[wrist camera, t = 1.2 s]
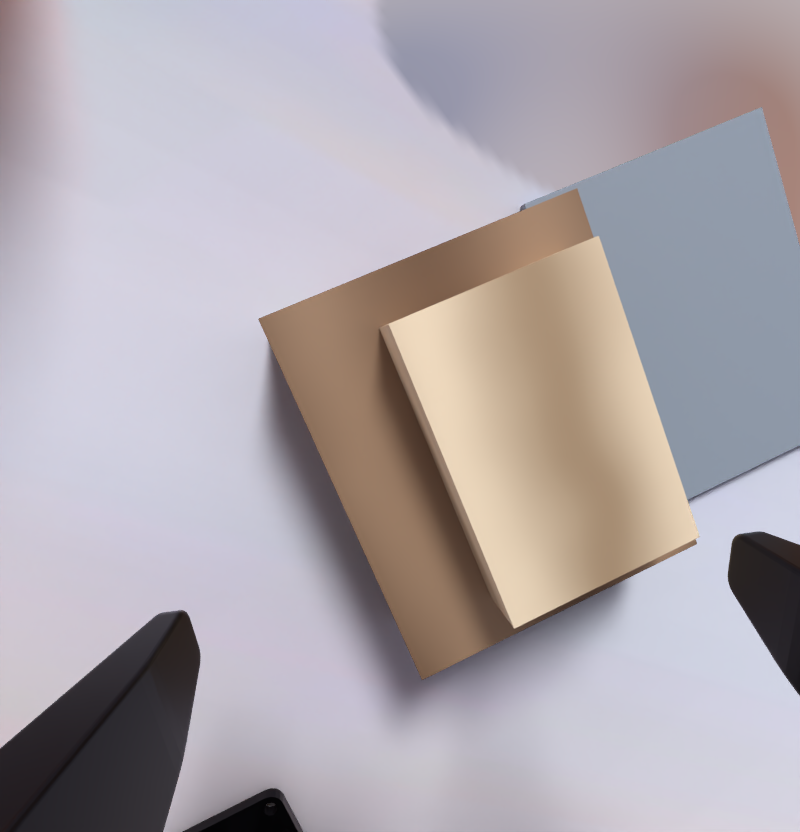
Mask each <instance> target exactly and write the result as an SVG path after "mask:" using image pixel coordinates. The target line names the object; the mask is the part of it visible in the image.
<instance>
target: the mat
mask: <svg viewBox="0 0 800 832" xmlns="http://www.w3.org/2000/svg"><path fill="white" fill-rule="evenodd" d="M576 188H577V189H578V192H579V195H580V198H581V201H582V204H583V207H584V210H585V213H586V216H587V219H588V222H589V225H590V228H591V231H592V234H593V237H597V236H599V238H600V241H601V244H602V247H603V250H604V253H605V256H606V259H607V262H608V265H609V268H610V271H611V274H612V277H613V280H614V283H615V286H616V289H617V292H618V295H619V298H620V301H621V303H622V306H623V309H624V312H625V315H626V318H627V321H628V324H629V327H630V330H631V333H632V336H633V339H634V342H635V345H636V348H637V351H638V354H639V357H640V360H641V363H642V366H643V369H644V372H645V375H646V378H647V381H648V384H649V387H650V390H651V393H652V396H653V399H654V402H655V405H656V408H657V411H658V414H659V417H660V420H661V423H662V426H663V429H664V432H665V435H666V438H667V441H668V444H669V447H670V450H671V453H672V456H673V459H674V462H675V465H676V468H677V471H678V474H679V477H680V480H681V483H682V486H683V489H684V492H685V495H686V498H687V500H688V499H690V498H692V497H694V496H696V495H698V494H700V493H703V492H705V491H707V490H709V489H711V488H713V487H715V486H717V485H719V484H721V483H723V482H725V481H727V480H729V479H731V478H733V477H735V476H738V475H740V474H742V473H744V472H746V471H748V470H750V469H752V468H754V467H756V466H758V465H760V464H762V463H764V462H766V461H768V460H770V459H773V458H775V457H777V456H779V455H781V454H783V453H785V452H787V451H789V450H791V449H793V448H795V447H797V446H799V445H800V245H799V242H798V238H797V234H796V231H795V227H794V223H793V220H792V216H791V213H790V209H789V205H788V202H787V198H786V194H785V191H784V187H783V183H782V180H781V176H780V172H779V168H778V165H777V161H776V157H775V154H774V150H773V147H772V143H771V140H770V136H769V132H768V129H767V125H766V121H765V117H764V114H763V110H762V107H761V108H759V109H756V110H753V111H751V112H749V113H746V114H744V115H741V116H739V117H736V118H734V119H732V120H729V121H727V122H724V123H722V124H719V125H717V126H714V127H712V128H709V129H707V130H705V131H702V132H700V133H697V134H695V135H692V136H690V137H687V138H685V139H683V140H680V141H678V142H676V143H673V144H670V145H668V146H666V147H663V148H661V149H658V150H656V151H653V152H651V153H648V154H646V155H644V156H641V157H639V158H636V159H634V160H631V161H629V162H626V163H624V164H621V165H619V166H617V167H614V168H612V169H610V170H607V171H604V172H602V173H600V174H597V175H595V176H592V177H590V178H587V179H585V180H582V181H580V182H577V183H575V184H573V185H570V186H568V187H565V188H563V189H561V190H558V191H555V192H553V193H550V194H548V195H546V196H543V197H541V198H538V199H536V200H533V201H531V202H528V203H526V204H524V205H523V206H521V210H525V209H527V208H530V207H532V206H535V205H537V204H540V203H542V202H544V201H547V200H549V199H552V198H554V197H557V196H559V195H562V194H564V193H566V192H569V191H571V190H574V189H576Z"/></svg>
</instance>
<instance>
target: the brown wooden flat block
mask: <svg viewBox="0 0 800 832" xmlns="http://www.w3.org/2000/svg"><path fill="white" fill-rule="evenodd" d="M592 238H594V237H593V234H592V231H591V228H590V225H589V222H588V219H587V216H586V213H585V210H584V207H583V204H582V201H581V198H580V195H579V192H578V189H577V188H576V189H574V190H571V191H569V192H566V193H564V194H562V195H559V196H557V197H554V198H552V199H549V200H547V201H544V202H542V203H540V204H537V205H535V206H532V207H530V208H527V209H525V210H522V211H520V212H518V213H515V214H513V215H510V216H508V217H505V218H503V219H501V220H498V221H496V222H493V223H491V224H488V225H486V226H483V227H481V228H479V229H476V230H474V231H471V232H469V233H466V234H464V235H462V236H459V237H457V238H454V239H452V240H449V241H447V242H444V243H442V244H440V245H437V246H435V247H432V248H430V249H427V250H425V251H423V252H420V253H418V254H415V255H413V256H410V257H408V258H405V259H403V260H401V261H398V262H396V263H393V264H391V265H388V266H386V267H384V268H381V269H379V270H376V271H374V272H371V273H369V274H366V275H364V276H362V277H359V278H357V279H354V280H352V281H349V282H347V283H345V284H342V285H340V286H337V287H335V288H332V289H330V290H327V291H325V292H323V293H320V294H318V295H315V296H313V297H310V298H308V299H305V300H303V301H301V302H298V303H296V304H293V305H291V306H288V307H286V308H284V309H281V310H279V311H276V312H274V313H271V314H269V315H266V316H264V317H262V318H259V322H260V324H261V326H262V328H263V330H264V333H265V335H266V337H267V339H268V341H269V344H270V346H271V348H272V350H273V352H274V355H275V357H276V359H277V361H278V363H279V366H280V368H281V370H282V372H283V374H284V377H285V379H286V381H287V383H288V385H289V388H290V390H291V392H292V394H293V397H294V399H295V401H296V403H297V405H298V408H299V410H300V412H301V414H302V416H303V419H304V421H305V423H306V425H307V427H308V430H309V432H310V434H311V436H312V438H313V441H314V443H315V445H316V447H317V449H318V452H319V454H320V456H321V458H322V460H323V463H324V465H325V467H326V469H327V471H328V474H329V476H330V478H331V480H332V483H333V485H334V487H335V489H336V491H337V494H338V496H339V498H340V500H341V502H342V505H343V507H344V509H345V511H346V513H347V516H348V518H349V520H350V522H351V524H352V527H353V529H354V531H355V533H356V535H357V538H358V540H359V542H360V544H361V546H362V549H363V551H364V553H365V555H366V557H367V560H368V562H369V564H370V566H371V569H372V571H373V573H374V575H375V577H376V580H377V582H378V584H379V586H380V588H381V591H382V593H383V595H384V597H385V599H386V602H387V604H388V606H389V608H390V610H391V613H392V615H393V617H394V619H395V621H396V624H397V626H398V628H399V630H400V632H401V635H402V637H403V639H404V641H405V643H406V646H407V648H408V650H409V652H410V655H411V657H412V659H413V661H414V663H415V666H416V668H417V670H418V672H419V674H420V677H421V679H422V680H423V679H425V678H428V677H430V676H432V675H434V674H436V673H438V672H440V671H442V670H444V669H446V668H448V667H450V666H452V665H454V664H456V663H458V662H460V661H462V660H464V659H466V658H468V657H470V656H472V655H474V654H476V653H478V652H480V651H482V650H484V649H486V648H488V647H490V646H492V645H494V644H496V643H498V642H500V641H502V640H504V639H506V638H508V637H510V636H512V635H514V634H516V633H518V632H520V631H522V630H524V629H526V628H528V627H530V626H532V625H534V624H536V623H538V622H540V621H542V620H544V619H546V618H548V617H550V616H552V615H555V614H557V613H559V612H561V611H563V610H565V609H567V608H569V607H571V606H573V605H575V604H577V603H579V602H581V601H583V600H585V599H587V598H589V597H591V596H593V595H595V594H597V593H599V592H601V591H603V590H605V589H607V588H609V587H611V586H613V585H615V584H617V583H619V582H621V581H623V580H625V579H627V578H629V577H631V576H633V575H635V574H637V573H639V572H641V571H643V570H645V569H647V568H649V567H651V566H653V565H655V564H657V563H659V562H661V561H663V560H665V559H667V558H669V557H671V556H673V555H675V554H677V553H679V552H682V551H684V550H686V549H688V548H690V547H692V546H694V545H696V544H697V542H696V539H694V540H692V541H690V542H688V543H686V544H684V545H682V546H680V547H678V548H676V549H674V550H672V551H670V552H668V553H666V554H664V555H662V556H660V557H658V558H656V559H654V560H652V561H650V562H648V563H646V564H644V565H642V566H640V567H638V568H636V569H634V570H632V571H630V572H628V573H626V574H624V575H622V576H620V577H618V578H616V579H614V580H612V581H610V582H608V583H606V584H604V585H602V586H600V587H597V588H595V589H593V590H591V591H589V592H587V593H585V594H583V595H581V596H579V597H577V598H575V599H573V600H571V601H569V602H567V603H565V604H563V605H561V606H559V607H557V608H555V609H553V610H551V611H549V612H547V613H545V614H543V615H541V616H539V617H537V618H535V619H533V620H531V621H529V622H527V623H525V624H523V625H521V626H519V627H517V628H515V629H514V628H513V626H512V625H511V624H510V622H509V621H508V620H507V618H506V617H505V615H504V614H503V613H502V611H501V610H500V609H499V607H498V606H497V605H496V603H495V602H494V600H493V599H492V598H491V596H490V593H489V591H488V589H487V586H486V584H485V581H484V579H483V577H482V574H481V572H480V569H479V567H478V565H477V562H476V560H475V557H474V555H473V553H472V550H471V548H470V545H469V543H468V540H467V538H466V536H465V533H464V531H463V528H462V526H461V524H460V521H459V519H458V516H457V514H456V512H455V509H454V507H453V504H452V502H451V500H450V497H449V495H448V492H447V490H446V488H445V485H444V483H443V480H442V478H441V476H440V473H439V471H438V468H437V466H436V464H435V461H434V459H433V456H432V454H431V452H430V449H429V447H428V444H427V442H426V439H425V437H424V435H423V432H422V430H421V427H420V425H419V423H418V420H417V418H416V415H415V413H414V411H413V408H412V406H411V403H410V401H409V399H408V396H407V394H406V391H405V389H404V387H403V384H402V382H401V379H400V377H399V375H398V372H397V370H396V367H395V365H394V363H393V360H392V358H391V355H390V353H389V351H388V348H387V346H386V343H385V341H384V338H383V336H382V334H381V331H380V329H379V328H380V327H382V326H385V325H387V324H389V323H392V322H394V321H396V320H399V319H401V318H404V317H406V316H408V315H411V314H413V313H415V312H418V311H420V310H422V309H425V308H427V307H430V306H432V305H434V304H437V303H439V302H441V301H444V300H446V299H449V298H451V297H453V296H456V295H458V294H460V293H463V292H465V291H468V290H470V289H472V288H475V287H477V286H479V285H482V284H484V283H486V282H489V281H491V280H494V279H496V278H498V277H501V276H503V275H505V274H508V273H510V272H513V271H515V270H517V269H520V268H522V267H524V266H527V265H529V264H532V263H534V262H536V261H539V260H541V259H543V258H546V257H548V256H551V255H553V254H555V253H558V252H560V251H562V250H565V249H567V248H570V247H572V246H575V245H577V244H579V243H582V242H584V241H587V240H589V239H592Z"/></svg>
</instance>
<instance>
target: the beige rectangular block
mask: <svg viewBox="0 0 800 832" xmlns="http://www.w3.org/2000/svg"><path fill="white" fill-rule="evenodd" d="M379 329H380V331H381V334H382V336H383V338H384V341H385V343H386V346H387V348H388V351H389V353H390V355H391V358H392V360H393V363H394V365H395V367H396V370H397V372H398V375H399V377H400V379H401V382H402V384H403V387H404V389H405V391H406V394H407V396H408V399H409V401H410V403H411V406H412V408H413V411H414V413H415V415H416V418H417V420H418V423H419V425H420V427H421V430H422V432H423V435H424V437H425V439H426V442H427V444H428V447H429V449H430V452H431V454H432V456H433V459H434V461H435V464H436V466H437V468H438V471H439V473H440V476H441V478H442V480H443V483H444V485H445V488H446V490H447V492H448V495H449V497H450V500H451V502H452V504H453V507H454V509H455V512H456V514H457V516H458V519H459V521H460V524H461V526H462V528H463V531H464V533H465V536H466V538H467V540H468V543H469V545H470V548H471V550H472V553H473V555H474V557H475V560H476V562H477V565H478V567H479V569H480V572H481V574H482V577H483V579H484V581H485V584H486V586H487V589H488V591H489V593H490V596H491V598H492V599H493V600H494V602H495V603H496V605H497V606H498V607H499V609H500V610H501V611H502V613H503V614H504V615H505V617H506V618H507V620H508V621H509V622H510V624H511V625H512V626H513V628H514V629H515V628H517V627H519V626H521V625H523V624H525V623H527V622H529V621H531V620H533V619H535V618H537V617H539V616H541V615H543V614H545V613H547V612H549V611H551V610H553V609H555V608H557V607H559V606H561V605H563V604H565V603H567V602H569V601H571V600H573V599H575V598H577V597H579V596H581V595H583V594H585V593H587V592H589V591H591V590H593V589H595V588H597V587H600V586H602V585H604V584H606V583H608V582H610V581H612V580H614V579H616V578H618V577H620V576H622V575H624V574H626V573H628V572H630V571H632V570H634V569H636V568H638V567H640V566H642V565H644V564H646V563H648V562H650V561H652V560H654V559H656V558H658V557H660V556H662V555H664V554H666V553H668V552H670V551H672V550H674V549H676V548H678V547H680V546H682V545H684V544H686V543H688V542H690V541H692V540H694V539H696V538H699V537H700V536H699V533H698V530H697V527H696V524H695V521H694V518H693V515H692V512H691V509H690V506H689V503H688V500H687V498H686V495H685V492H684V489H683V486H682V483H681V480H680V477H679V474H678V471H677V468H676V465H675V462H674V459H673V456H672V453H671V450H670V447H669V444H668V441H667V438H666V435H665V432H664V429H663V426H662V423H661V420H660V417H659V414H658V411H657V408H656V405H655V402H654V399H653V396H652V393H651V390H650V387H649V384H648V381H647V378H646V375H645V372H644V369H643V366H642V363H641V360H640V357H639V354H638V351H637V348H636V345H635V342H634V339H633V336H632V333H631V330H630V327H629V324H628V321H627V318H626V315H625V312H624V309H623V306H622V303H621V301H620V298H619V295H618V292H617V289H616V286H615V283H614V280H613V277H612V274H611V271H610V268H609V265H608V262H607V259H606V256H605V253H604V250H603V247H602V244H601V241H600V238H599V236H597V237H594V238H592V239H589V240H587V241H584V242H582V243H579V244H577V245H575V246H572V247H570V248H567V249H565V250H562V251H560V252H558V253H555V254H553V255H551V256H548V257H546V258H543V259H541V260H539V261H536V262H534V263H532V264H529V265H527V266H524V267H522V268H520V269H517V270H515V271H513V272H510V273H508V274H505V275H503V276H501V277H498V278H496V279H494V280H491V281H489V282H486V283H484V284H482V285H479V286H477V287H475V288H472V289H470V290H468V291H465V292H463V293H460V294H458V295H456V296H453V297H451V298H449V299H446V300H444V301H441V302H439V303H437V304H434V305H432V306H430V307H427V308H425V309H422V310H420V311H418V312H415V313H413V314H411V315H408V316H406V317H404V318H401V319H399V320H396V321H394V322H392V323H389V324H387V325H385V326H382V327H380V328H379Z"/></svg>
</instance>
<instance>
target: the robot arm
mask: <svg viewBox="0 0 800 832" xmlns="http://www.w3.org/2000/svg"><path fill="white" fill-rule="evenodd" d="M728 582H729V585H730V588H731V590H732V592H733V594H734V595H735V597H736V599H737V600H738V602H739V603H740V605H741V607H742V608H743V610H744V611H745V613H746V615H747V616H748V618H749V619H750V621H751V623H752V624H753V626H754V628H755V629H756V631H757V632H758V634H759V636H760V637H761V639H762V640H763V642H764V644H765V645H766V647H767V648H768V650H769V652H770V653H771V655H772V657H773V658H774V660H775V661H776V663H777V664H778V666H779V667H780V669H781V670H782V672H783V673H784V675H785V676H786V678H787V679H788V680H789V682H790V683H791V685H792V686H793V687H794V689H795V690H796V691H797V693H798V694H799V695H800V545H798V544H795V543H793V542H790V541H787V540H784V539H782V538H779V537H776V536H773V535H771V534H768V533H765V532H751V533H744V534H739V535H737V536H735V537H734V539H733V541H732V546H731V554H730V562H729V569H728ZM199 667H200V649H199V646H198V643H197V639H196V636H195V633H194V630H193V627H192V624H191V621H190V618H189V615H188V614H187V612H185V611H183V610H178V611H171V612H164V613H160V614H158V615H156V616H155V617H154V618H153V619H152V620H150V621H149V622H148V623H147V624H146V625H145V626H143V627H142V628H141V629H140V630H139V631H137V632H136V633H135V634H134V635H133V636H132V637H130V638H129V639H128V640H127V641H126V642H125V643H123V644H122V645H121V646H120V647H119V648H118V649H116V650H115V651H114V652H113V653H112V654H111V655H109V656H108V657H107V658H106V659H105V660H103V661H102V662H101V663H100V664H99V665H98V666H96V667H95V668H94V669H93V670H92V671H91V672H89V673H88V674H87V675H86V676H85V677H84V678H82V679H81V680H80V681H79V682H78V683H76V684H75V685H74V686H73V687H72V688H71V689H69V690H68V691H67V692H66V693H65V694H64V695H62V696H61V697H60V698H59V699H58V700H57V701H55V702H54V703H53V704H52V705H51V706H50V707H48V708H47V709H46V710H45V711H44V712H42V713H41V714H40V715H39V716H38V717H37V718H35V719H34V720H33V721H32V722H31V723H30V724H28V725H27V726H26V727H25V728H24V729H23V730H21V731H20V732H19V733H18V734H17V735H15V736H14V737H13V738H12V739H11V740H10V741H8V742H7V743H6V744H5V745H4V746H3V747H1V748H0V832H163V830H164V827H165V823H166V820H167V816H168V813H169V809H170V806H171V802H172V798H173V795H174V791H175V788H176V784H177V781H178V777H179V773H180V770H181V766H182V762H183V757H184V752H185V747H186V742H187V736H188V730H189V725H190V719H191V713H192V708H193V702H194V696H195V690H196V685H197V679H198V673H199ZM268 803H274V804H276V805H275V806H272V807H269V806H266V804H268ZM183 832H303V831H302V829H301V827H300V825H299V823H298V821H297V819H296V817H295V815H294V813H293V812H292V810H291V808H290V806H289V804H288V802H287V800H286V798H285V796H284V794H283V793H282V792H281V791H280V790H278V789H267V790H265V791H263V792H261V793H259V794H257V795H255V796H253V797H251V798H249V799H247V800H245V801H243V802H241V803H239V804H237V805H235V806H233V807H231V808H229V809H227V810H225V811H223V812H221V813H219V814H217V815H215V816H213V817H211V818H209V819H207V820H205V821H203V822H201V823H199V824H197V825H195V826H193V827H191V828H189V829H187V830H185V831H183Z"/></svg>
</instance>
